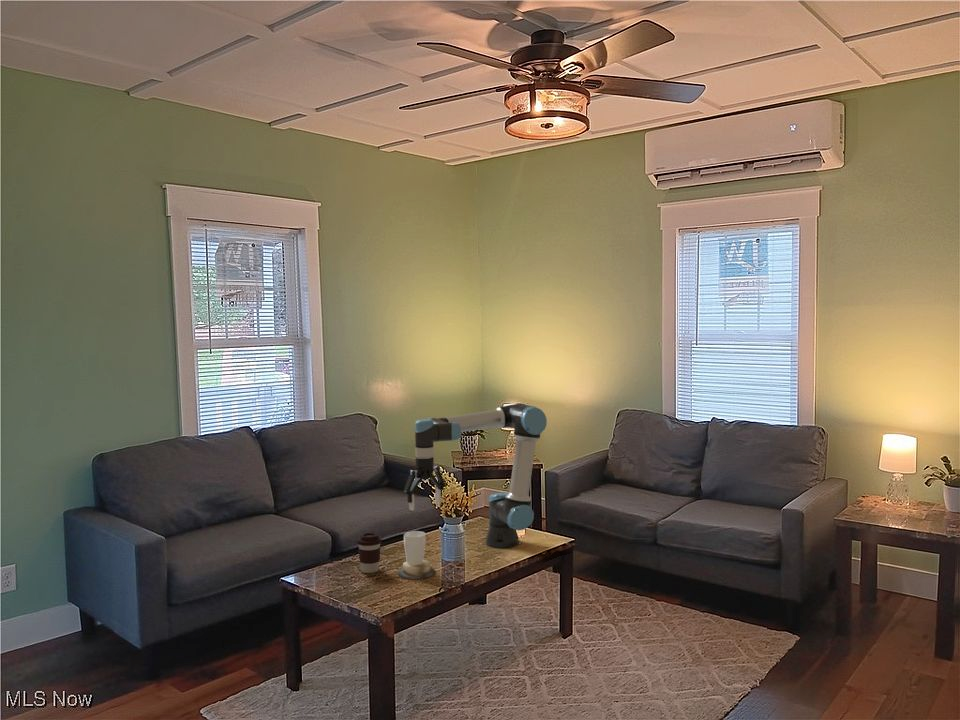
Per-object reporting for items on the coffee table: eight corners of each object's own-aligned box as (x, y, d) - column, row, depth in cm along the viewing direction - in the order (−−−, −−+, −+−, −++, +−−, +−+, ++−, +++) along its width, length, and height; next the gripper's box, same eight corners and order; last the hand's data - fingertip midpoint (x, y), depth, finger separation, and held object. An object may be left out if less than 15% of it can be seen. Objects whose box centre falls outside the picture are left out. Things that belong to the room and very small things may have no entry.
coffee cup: (385, 567, 328) (385, 532, 327) (376, 575, 318) (375, 539, 317) (363, 565, 330) (363, 530, 329) (353, 573, 321) (353, 537, 320)
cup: (426, 559, 326) (426, 530, 325) (425, 566, 317) (425, 537, 316) (404, 559, 325) (404, 531, 325) (403, 566, 316) (403, 537, 316)
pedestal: (423, 564, 331) (422, 555, 331) (442, 574, 319) (441, 564, 318) (391, 571, 323) (391, 562, 322) (409, 582, 310) (409, 572, 310)
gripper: (443, 451, 338) (443, 500, 339) (394, 459, 322) (395, 510, 323) (453, 454, 332) (454, 503, 333) (404, 462, 316) (405, 514, 318)
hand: (425, 507), depth 328 cm, fingers open, 13 cm apart
